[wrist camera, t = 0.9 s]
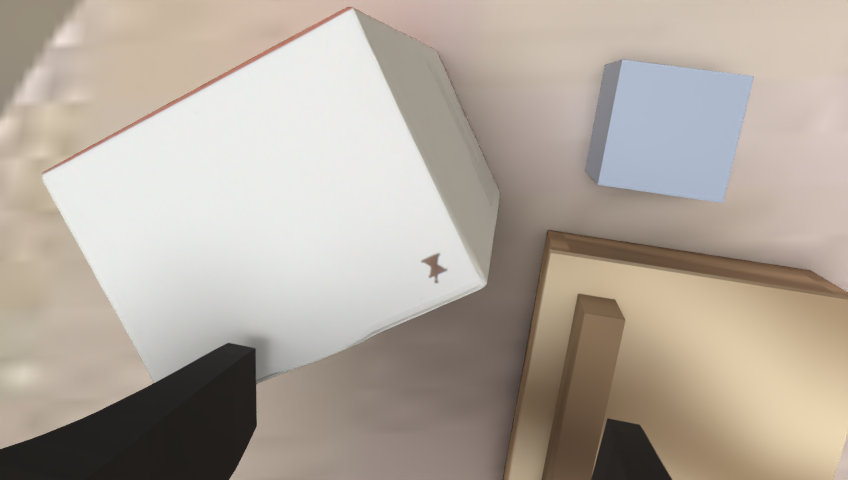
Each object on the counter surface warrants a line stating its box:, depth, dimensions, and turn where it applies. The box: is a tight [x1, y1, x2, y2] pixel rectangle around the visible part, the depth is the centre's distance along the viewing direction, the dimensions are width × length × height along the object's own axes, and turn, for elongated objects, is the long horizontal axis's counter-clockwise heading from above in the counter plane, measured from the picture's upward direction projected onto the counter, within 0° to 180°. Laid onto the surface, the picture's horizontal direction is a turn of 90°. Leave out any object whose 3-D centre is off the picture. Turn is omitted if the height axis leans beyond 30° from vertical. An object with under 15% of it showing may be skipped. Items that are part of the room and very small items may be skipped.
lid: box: [508, 249, 848, 480], centre depth 21 cm, size 12×10×2 cm
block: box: [585, 60, 754, 203], centre depth 23 cm, size 4×4×4 cm
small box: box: [42, 7, 500, 384], centre depth 20 cm, size 8×6×13 cm
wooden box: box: [503, 230, 848, 480], centre depth 25 cm, size 12×10×4 cm
